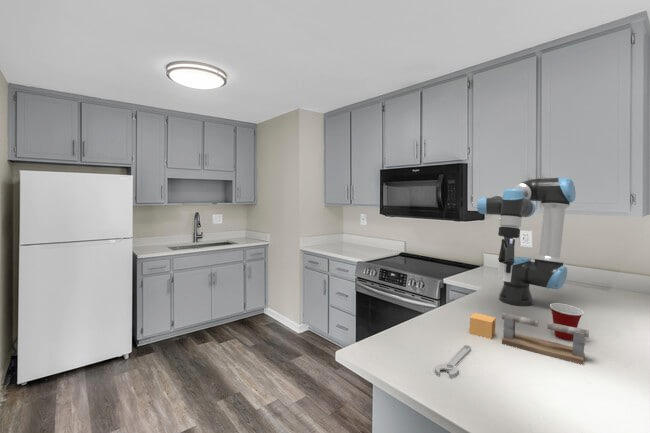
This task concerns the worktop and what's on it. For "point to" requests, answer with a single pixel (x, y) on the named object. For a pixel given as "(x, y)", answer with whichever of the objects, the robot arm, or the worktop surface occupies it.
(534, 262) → the robot arm
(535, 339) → the frame
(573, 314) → the plastic cup
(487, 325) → the block
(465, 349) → the adjustable wrench
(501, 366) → the worktop surface
